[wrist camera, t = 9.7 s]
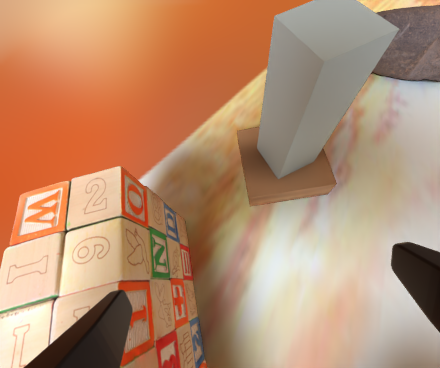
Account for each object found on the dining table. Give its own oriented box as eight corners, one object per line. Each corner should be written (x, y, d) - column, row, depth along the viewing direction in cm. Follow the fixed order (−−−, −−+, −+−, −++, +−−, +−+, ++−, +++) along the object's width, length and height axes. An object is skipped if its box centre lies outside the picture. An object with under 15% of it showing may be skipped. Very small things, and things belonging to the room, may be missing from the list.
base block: (326, 195, 22) (336, 183, 19) (250, 207, 23) (249, 197, 20) (304, 134, 25) (310, 116, 23) (238, 146, 26) (237, 130, 23)
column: (313, 161, 20) (399, 28, 9) (278, 179, 20) (324, 61, 9) (290, 132, 22) (340, -11, 11) (256, 148, 22) (274, 16, 11)
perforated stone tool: (322, 74, 28) (341, 16, 22) (332, 49, 30) (353, -12, 24) (459, 98, 24) (533, 33, 18) (462, 67, 26) (530, -2, 19)
